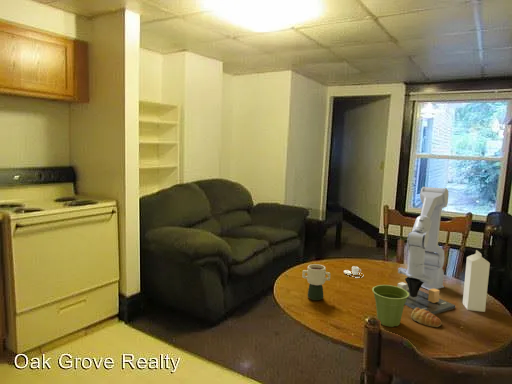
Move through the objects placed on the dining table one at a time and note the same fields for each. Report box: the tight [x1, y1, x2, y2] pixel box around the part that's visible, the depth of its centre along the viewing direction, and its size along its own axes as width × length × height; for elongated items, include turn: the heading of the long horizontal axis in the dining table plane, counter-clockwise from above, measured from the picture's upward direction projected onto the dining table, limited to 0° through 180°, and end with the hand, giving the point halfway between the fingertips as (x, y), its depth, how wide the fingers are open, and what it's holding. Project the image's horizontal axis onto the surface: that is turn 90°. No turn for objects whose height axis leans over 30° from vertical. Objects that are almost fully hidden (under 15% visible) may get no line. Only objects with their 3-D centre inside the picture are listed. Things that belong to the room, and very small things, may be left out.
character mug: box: [301, 263, 331, 301], centre depth 142 cm, size 11×7×13 cm, turn 78°
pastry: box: [410, 308, 442, 328], centre depth 125 cm, size 9×7×4 cm
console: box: [404, 287, 456, 315], centre depth 143 cm, size 15×22×1 cm
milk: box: [462, 249, 491, 313], centre depth 136 cm, size 6×6×22 cm
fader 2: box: [428, 288, 441, 303], centre depth 139 cm, size 3×2×4 cm
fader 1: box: [397, 281, 408, 291], centre depth 145 cm, size 3×2×4 cm
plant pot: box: [372, 284, 409, 328], centre depth 124 cm, size 12×12×11 cm
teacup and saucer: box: [343, 265, 364, 279], centre depth 171 cm, size 9×8×4 cm
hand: (413, 296), depth 140 cm, fingers closed
